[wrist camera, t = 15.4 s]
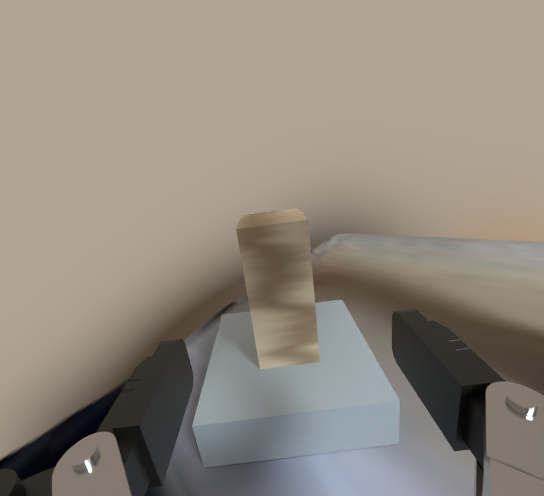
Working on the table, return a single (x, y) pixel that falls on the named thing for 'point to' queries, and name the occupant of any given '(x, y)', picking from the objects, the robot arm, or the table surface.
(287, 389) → the base
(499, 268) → the table surface
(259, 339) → the beech block
